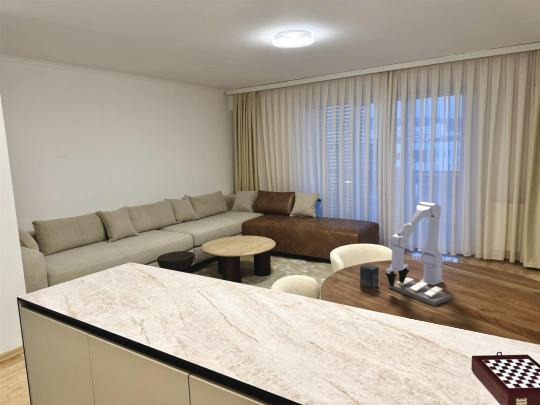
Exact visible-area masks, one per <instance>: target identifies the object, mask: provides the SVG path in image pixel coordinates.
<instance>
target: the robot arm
mask: <svg viewBox="0 0 540 405" xmlns="http://www.w3.org/2000/svg"><path fill="white" fill-rule="evenodd" d="M441 212H442V207H441V206H440V205H439V204H438V203H435V202H434V203H433V202H428V201H427V202H426V201H420V202H419V203H418V204H417V205H416V209H415V212H414V214H413V215H412V217H411V218H410V220H409V221H408V223H404V224H403V225H402V227H400V229H399V230H398V231H397V232H396V234H393V235H391V237H390V239H389V244H390V246H391V264H390V265H389V267H387V268H385V273H384V274H385V276H386V277H387V280H388V283H389V284H388V286H389V285H390V286H392V287H393V286H394V283H395V282H396V281H395V280H396V279H397V278H396V277H397V275H398V281H399V282H401V283H404V281H405V278H407V276H408V274H409V272H410V270H409V264H406V263H404V260H405V248H406V246H408V241H409V239H410V238H411V236H412V234H413V233H414V232H415V227H416V226H417V225H418V224H419V223H420V221H422V220H423V218H427V219H428V222H427V224H428V226H427V236H426V248H424V249H423V250H422V254H421V255H420V262H422V265H423V278H421V279H419V282H421V281H422V282H425V283H428V285H431V286H434V285H435V286H436V285H437V284H440V283H443V282H444V280H443V278H442V276H443V269H442V265H443V262H444V259H443V252H442V251H441V250H440V249H439V247H438V246H439V235H440V221H441ZM396 272H398V274H396Z"/></svg>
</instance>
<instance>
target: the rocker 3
mask: <svg viewBox="0 0 540 405" xmlns="http://www.w3.org/2000/svg"><path fill="white" fill-rule="evenodd" d="M431 288H432V289H430V290H429V291H427V292H426V293H424V295H426V296H429V297H433V296H434V295H436V294H437V293H439V292H440V291H441V292H443V289H444V288H442V287H439V286H436V285H435V286H434V287H431Z"/></svg>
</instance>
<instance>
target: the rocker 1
mask: <svg viewBox="0 0 540 405" xmlns="http://www.w3.org/2000/svg"><path fill="white" fill-rule="evenodd" d="M412 281H413V282H415V279H414V278H411V277H406V278H405V281H404V283H401V282H399V280H398V282H397V281H396V282H397V284H399V285H402V286H403V285H405V284H408V283H410V282H412Z"/></svg>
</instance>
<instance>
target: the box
mask: <svg viewBox="0 0 540 405" xmlns="http://www.w3.org/2000/svg"><path fill="white" fill-rule="evenodd" d="M359 267H360V268H359V271H360V272H359V273H360V275H359V285H360V286H363V287H366V288H369V289H375V288H377V287H379V267H378V266H376V265H372V264H368V263H364V264H362V265H360V266H359Z"/></svg>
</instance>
